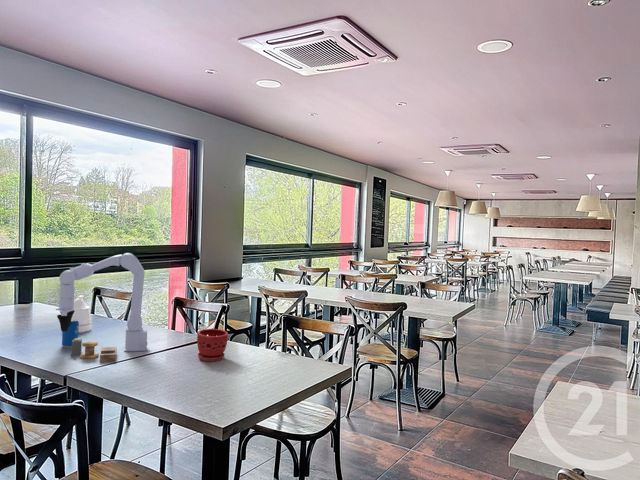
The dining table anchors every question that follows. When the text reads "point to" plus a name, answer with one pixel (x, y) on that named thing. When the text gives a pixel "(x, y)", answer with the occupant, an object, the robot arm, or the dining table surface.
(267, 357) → the dining table surface
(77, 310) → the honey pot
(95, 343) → the spool
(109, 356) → the block with rectangular opening
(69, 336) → the beverage can
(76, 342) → the grey rectangular block
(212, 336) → the plant pot
